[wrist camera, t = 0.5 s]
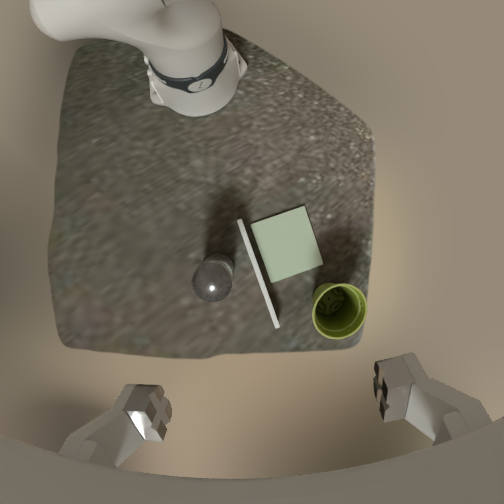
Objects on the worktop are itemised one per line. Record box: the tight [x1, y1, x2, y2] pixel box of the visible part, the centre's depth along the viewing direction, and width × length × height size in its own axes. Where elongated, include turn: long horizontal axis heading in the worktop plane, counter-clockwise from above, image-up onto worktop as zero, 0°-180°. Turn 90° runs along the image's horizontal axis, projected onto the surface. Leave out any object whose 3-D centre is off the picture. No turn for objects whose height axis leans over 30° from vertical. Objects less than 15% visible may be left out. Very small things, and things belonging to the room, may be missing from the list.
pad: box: [250, 206, 323, 283], centre depth 55 cm, size 11×10×1 cm
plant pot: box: [312, 283, 367, 339], centre depth 52 cm, size 9×9×9 cm
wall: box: [237, 219, 280, 328], centre depth 54 cm, size 20×1×3 cm, turn 19°
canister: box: [192, 253, 234, 302], centre depth 50 cm, size 6×6×11 cm
